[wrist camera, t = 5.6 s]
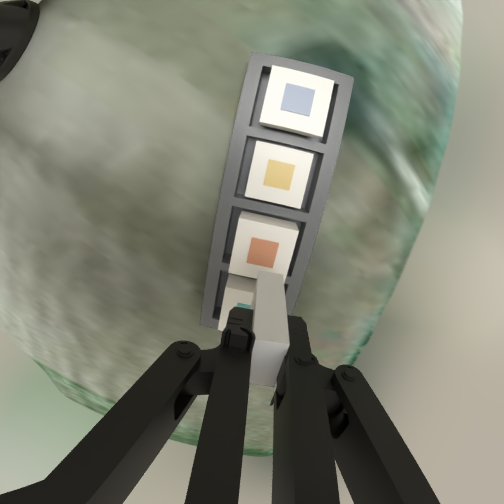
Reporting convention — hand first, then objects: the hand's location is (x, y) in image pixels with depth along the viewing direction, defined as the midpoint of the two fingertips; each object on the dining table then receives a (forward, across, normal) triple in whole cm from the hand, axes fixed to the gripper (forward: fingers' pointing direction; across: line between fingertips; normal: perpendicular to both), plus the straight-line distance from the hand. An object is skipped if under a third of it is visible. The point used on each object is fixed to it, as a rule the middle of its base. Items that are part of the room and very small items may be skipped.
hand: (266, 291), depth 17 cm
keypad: (+11, 0, +4) cm, 11 cm away
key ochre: (+10, 0, +7) cm, 12 cm away
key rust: (+8, 0, 0) cm, 8 cm away
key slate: (+8, 0, +13) cm, 15 cm away
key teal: (+8, -1, -6) cm, 10 cm away
